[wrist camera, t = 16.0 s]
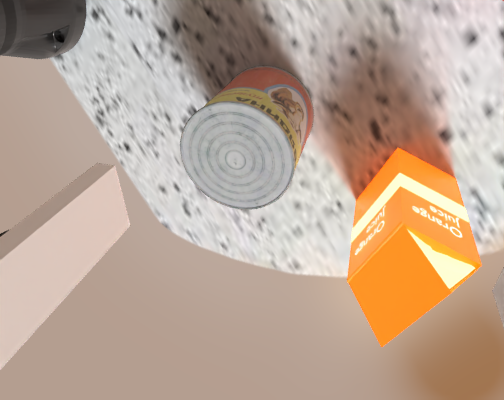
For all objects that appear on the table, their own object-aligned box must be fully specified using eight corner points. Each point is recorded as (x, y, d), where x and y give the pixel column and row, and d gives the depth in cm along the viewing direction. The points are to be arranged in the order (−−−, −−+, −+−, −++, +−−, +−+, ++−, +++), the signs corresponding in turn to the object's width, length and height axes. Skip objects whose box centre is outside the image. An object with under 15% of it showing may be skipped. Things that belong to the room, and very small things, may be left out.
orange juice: (354, 200, 48) (339, 327, 32) (397, 146, 43) (404, 266, 27) (408, 229, 48) (420, 370, 32) (457, 178, 43) (500, 317, 27)
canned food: (332, 128, 44) (318, 180, 34) (258, 170, 50) (229, 224, 40) (276, 44, 40) (243, 75, 31) (204, 100, 46) (157, 141, 37)
